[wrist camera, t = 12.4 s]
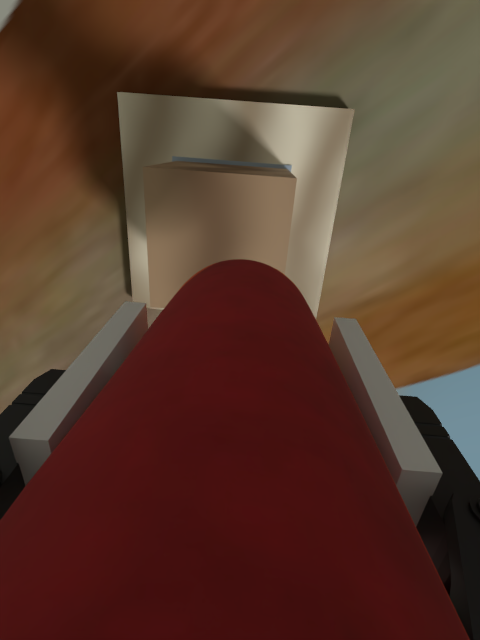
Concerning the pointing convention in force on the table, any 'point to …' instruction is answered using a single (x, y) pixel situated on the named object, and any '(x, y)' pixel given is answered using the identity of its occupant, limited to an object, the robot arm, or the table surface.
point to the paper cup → (220, 492)
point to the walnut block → (213, 219)
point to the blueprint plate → (245, 150)
